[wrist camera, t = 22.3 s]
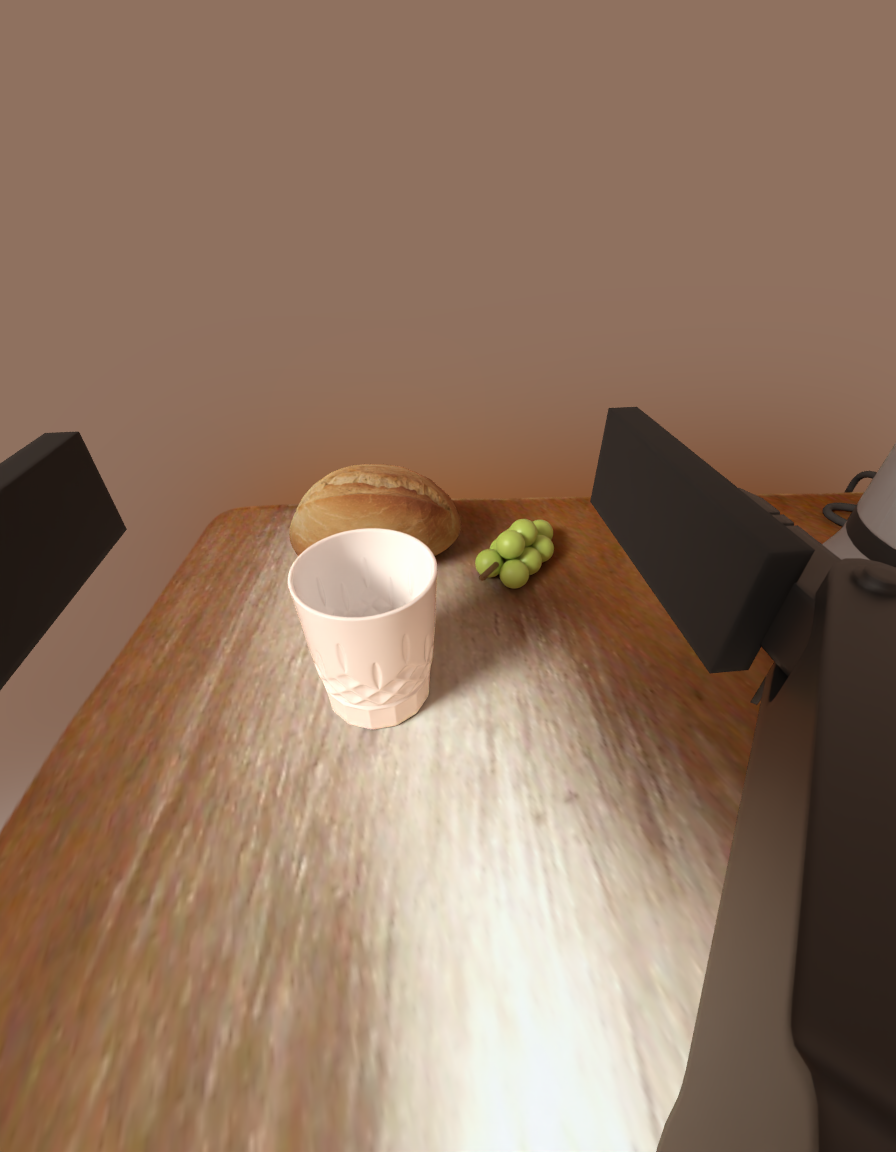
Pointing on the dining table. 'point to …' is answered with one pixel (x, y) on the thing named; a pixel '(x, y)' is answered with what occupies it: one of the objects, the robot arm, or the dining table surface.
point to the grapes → (517, 553)
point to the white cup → (369, 621)
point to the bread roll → (376, 507)
